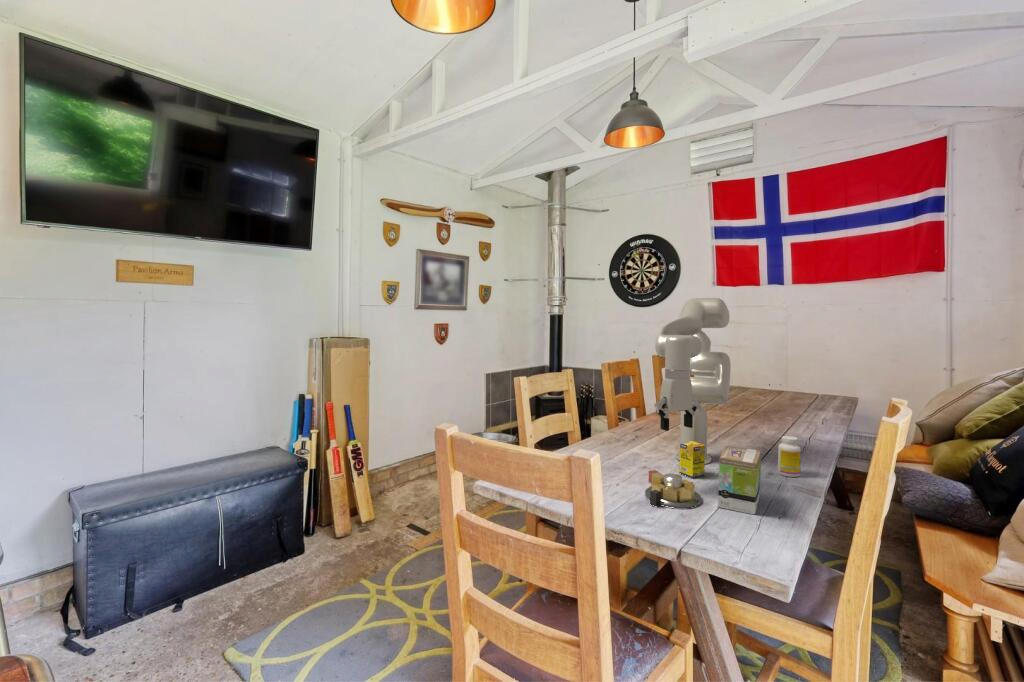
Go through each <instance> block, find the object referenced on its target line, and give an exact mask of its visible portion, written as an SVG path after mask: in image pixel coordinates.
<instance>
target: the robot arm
mask: <svg viewBox="0 0 1024 682" xmlns="http://www.w3.org/2000/svg"><path fill="white" fill-rule="evenodd" d="M730 317H731V316H730V310H729V308H728V305H727V303H726V302H725V301H724V300H723V299H721V298H720V297H696V298H695V297H693V298H690V299H687V300H686V301H685V303H684V304H683V307H682V309H681V312H680V314H679V317H678V318H675V319H673V320H672V321H669V322H668V323H666V324H664V325H663V326H662V327H661V328H660V331H659V332H658V335H657V336H656V340H655V347H654V348H655V352H656V354H658V356H660V357H663V358H664V359H665V360H664V362H665V364H664V366H665V367H664V379H662V383H661V385H660V392H659V393H660V395H659V400H658V401H656V402H655V403H654V405H653V407H654V408H655V411H656V413H657V414H658V417H660V430H662V431H666V432H668V431H669V430H670V418H669V415H670V414H671V413H672V412H673V413H674V412H675V413H676V412H680V429H679V430H680V438H679V439H680V440H679V443H678V445H677V444H676V445H675V449H677V450H678V453H676V454H675V458H677V459H676V460H678V461H679V460H680V443H685V442H690V441H693V442H697V443H700V444H703V445H705V465H706V464H710V463H711V462H712V457H711V456H710V455H708V413H707V410H706V409H705V407H704V406H703V405H702V404H708V405H709V404H711V405H724V404H726V403H727V402H728V400H729V396H730V383H731V367H732V366H731V359H730V355H728V353H726V352H723V351H711V345H712V341H711V339H710V337H709V336H708V335H707V333H705V332H704V331H703V330H702V329H723V328H726V327H727V326H728V325H729V322H730Z"/></svg>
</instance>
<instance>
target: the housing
mask: <svg viewBox="0 0 1024 682" xmlns="http://www.w3.org/2000/svg"><path fill="white" fill-rule="evenodd" d="M677 474H678V473H677ZM677 474H676V473H666V474H663V475H664V486H666V487H667V485H668V483H670V484H674V488H682V480H683V476H682V475H681V474H678V475H677ZM644 496H646V497H647V498H648V499H649V500H650V501H649V500H648V499H647V498H646V497H645V498H646V499H647V500H648V501H649V505H650V504H651V505H654V506H658V505H664V506H668V507H674V508H690V509H692V508H691V507H695V506H697V507H699V506H700V505H701V504H702V496H701V494H699V493H698V492H696V491H695V490H694V498H693V499H691V500H690V501H683V502H679V501H678V500H677V502H675V501H669V500H663V498H661V491H658V490H653V491H651V486H649V487H648V488H646V489H645V491H644ZM700 503H701V504H700ZM699 504H700V505H699ZM651 505H650V506H651ZM698 505H699V506H698ZM654 506H653V507H654ZM658 507H659V506H658ZM674 508H673V509H674ZM695 508H696V507H695Z"/></svg>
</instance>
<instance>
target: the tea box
mask: <svg viewBox="0 0 1024 682" xmlns="http://www.w3.org/2000/svg"><path fill="white" fill-rule="evenodd" d="M718 469H719V470H718V489H717V491H718V492H717V507H718V508H722V509H725V510H726V509H727V510H730V511H735V512H739V513H746V514H751V515H755V514H756V512H757V509H758V504H759V501H760V500H759V499H760V494H761V470H762V451H761V450H759V449H758V450H757V449H753V448H745V447H740V446H739V447H737V446H732V445H726V446H725V448H724V449H723V451H722V453H721V455H720V456H719V468H718Z"/></svg>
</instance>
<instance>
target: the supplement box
mask: <svg viewBox="0 0 1024 682" xmlns="http://www.w3.org/2000/svg"><path fill="white" fill-rule="evenodd" d="M679 444H680V461H679V465H678V466H679V471H678V474H679V473H681V474H680V475H682V474H683V475H682V476H684V475H686V476H685V477H687V476H688V477H687V478H689V477H691V478H690V479H692V478H693V479H695V477H697V478H700V476H701V477H704V476H705V465H706V464H705V445H703V444H700V443H697V442H693V441H690V442H685V443H680V442H679Z"/></svg>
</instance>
